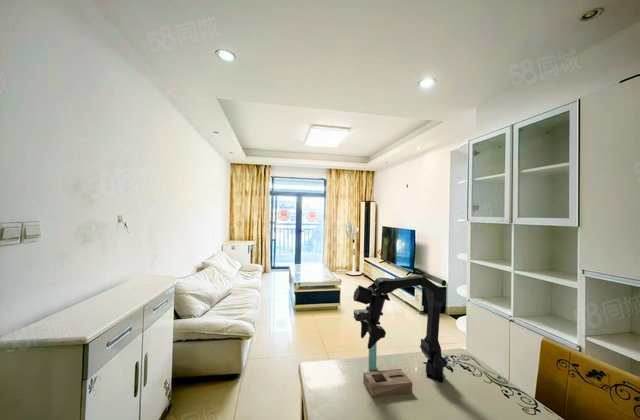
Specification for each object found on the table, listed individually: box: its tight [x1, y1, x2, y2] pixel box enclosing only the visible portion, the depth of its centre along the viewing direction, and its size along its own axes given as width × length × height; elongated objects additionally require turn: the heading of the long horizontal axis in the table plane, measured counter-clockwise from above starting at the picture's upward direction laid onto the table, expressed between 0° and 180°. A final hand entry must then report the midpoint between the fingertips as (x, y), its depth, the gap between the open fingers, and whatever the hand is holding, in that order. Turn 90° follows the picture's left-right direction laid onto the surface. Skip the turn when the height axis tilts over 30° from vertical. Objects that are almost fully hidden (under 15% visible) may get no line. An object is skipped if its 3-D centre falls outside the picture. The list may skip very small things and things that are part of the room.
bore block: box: [363, 368, 413, 398], centre depth 99 cm, size 9×17×4 cm, turn 101°
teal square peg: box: [368, 341, 378, 371], centre depth 112 cm, size 3×3×13 cm
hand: (365, 342), depth 103 cm, fingers open, 9 cm apart
